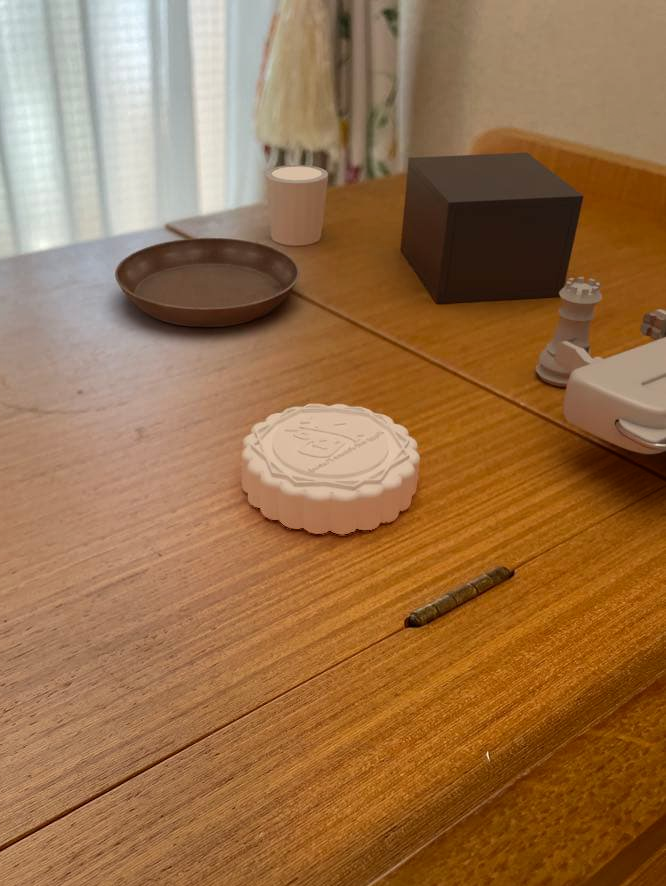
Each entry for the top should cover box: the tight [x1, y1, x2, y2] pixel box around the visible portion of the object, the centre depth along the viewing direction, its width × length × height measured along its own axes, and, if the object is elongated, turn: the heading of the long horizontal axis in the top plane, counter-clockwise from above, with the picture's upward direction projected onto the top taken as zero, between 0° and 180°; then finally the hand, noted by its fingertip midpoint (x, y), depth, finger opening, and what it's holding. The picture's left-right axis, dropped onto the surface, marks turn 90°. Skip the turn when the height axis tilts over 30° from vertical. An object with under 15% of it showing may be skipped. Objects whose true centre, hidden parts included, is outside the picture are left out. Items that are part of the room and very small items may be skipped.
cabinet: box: [399, 152, 585, 305], centre depth 87 cm, size 15×13×10 cm
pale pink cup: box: [265, 164, 329, 247], centre depth 97 cm, size 7×7×7 cm
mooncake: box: [240, 403, 421, 534], centre depth 59 cm, size 12×12×4 cm
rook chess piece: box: [535, 276, 604, 388], centre depth 70 cm, size 4×4×8 cm
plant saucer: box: [114, 237, 301, 328], centre depth 84 cm, size 18×18×3 cm
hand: (606, 334), depth 67 cm, fingers open, 8 cm apart
